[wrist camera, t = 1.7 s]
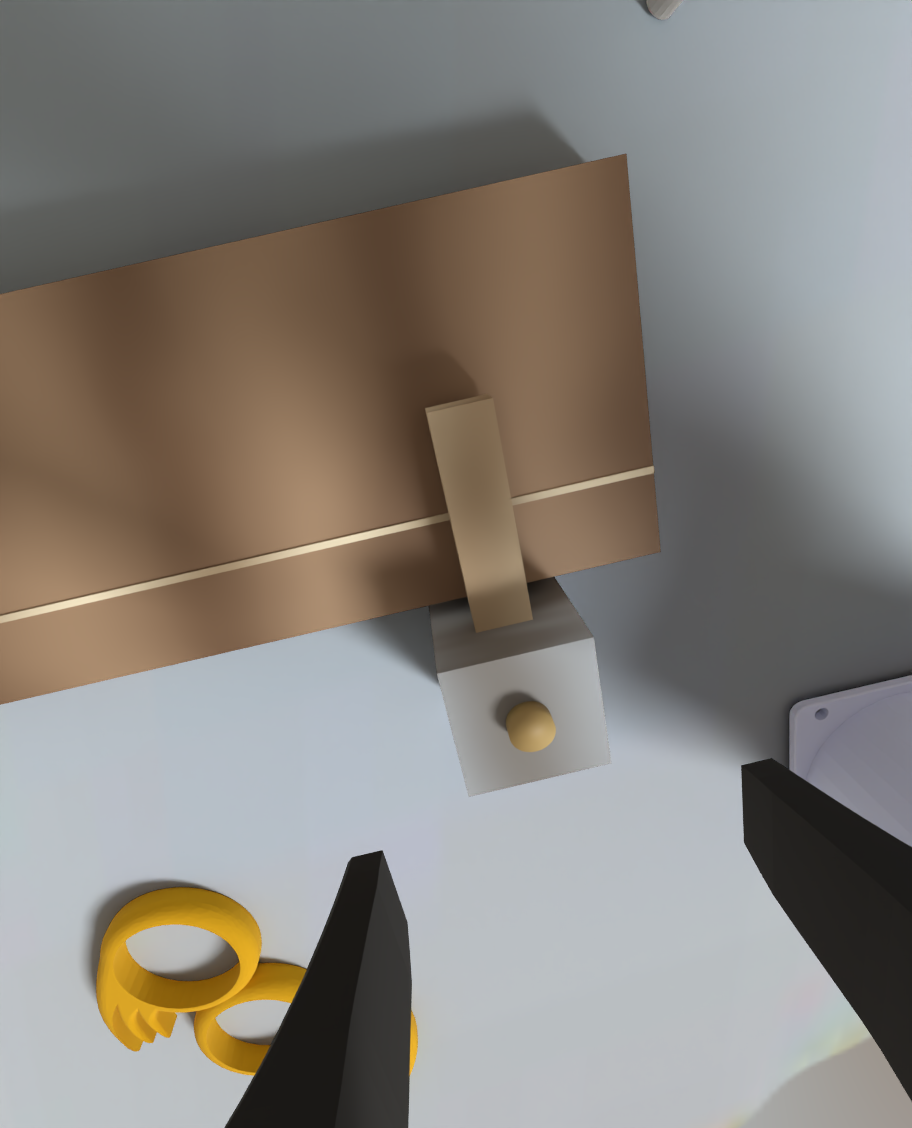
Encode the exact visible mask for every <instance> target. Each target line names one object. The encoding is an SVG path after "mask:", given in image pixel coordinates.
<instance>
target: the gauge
mask: <svg viewBox="0 0 912 1128" xmlns="http://www.w3.org/2000/svg"><path fill="white" fill-rule="evenodd" d="M425 410H426V415H427V419H428V424H429V428H430V433H431V437H432V442H433V446H434V451H435V455H436V460H437V464H438V468H439V473H440V477H441V482H442V486H443V491H444V495H445V500H446V504H447V509H448V513H449V518H450V522H451V526H452V531H453V535H454V540H455V544H456V549H457V553H458V558H459V562H460V567H461V571H462V576H463V580H464V585H465V589H466V593H467V597H463V598H459V599H455V600H450V601H446V602H442V603H437V604H433V605H429V612H430V620H431V629H432V637H433V645H434V654H435V662H436V670H437V676H438V680H439V684H440V688H441V692H442V695H443V699H444V703H445V707H446V711H447V715H448V718H449V722H450V726H451V730H452V734H453V738H454V742H455V745H456V749H457V753H458V757H459V761H460V765H461V769H462V772H463V776H464V780H465V784H466V788H467V792H468V796H469V797H470V796H475V795H479V794H483V793H487V792H492V791H496V790H500V789H504V788H509V787H513V786H517V785H521V784H526V783H530V782H534V781H538V780H542V779H547V778H551V777H555V776H559V775H564V774H568V773H572V772H576V771H581V770H585V769H589V768H593V767H598V766H602V765H606V764H610V763H611V757H610V750H609V743H608V735H607V728H606V721H605V714H604V707H603V700H602V692H601V685H600V678H599V671H598V664H597V656H596V649H595V642H594V637H593V635H592V634H591V632H590V631H589V629H588V628H587V626H586V625H585V623H584V621H583V620H582V618H581V617H580V615H579V614H578V612H577V611H576V609H575V608H574V606H573V605H572V603H571V602H570V600H569V599H568V597H567V596H566V594H565V593H564V591H563V589H562V588H561V586H560V585H559V583H558V582H557V580H556V579H555V577H550V578H546V579H541V580H537V581H533V582H528V583H526V578H525V572H524V567H523V561H522V556H521V550H520V545H519V539H518V534H517V528H516V522H515V517H514V511H513V506H512V500H511V495H510V489H509V484H508V478H507V473H506V467H505V462H504V456H503V451H502V445H501V439H500V434H499V428H498V423H497V417H496V412H495V406H494V401H493V398H492V397H491V396H489V395H488V394H485V395H481V396H476V397H472V398H468V399H463V400H459V401H454V402H450V403H446V404H441V405H437V406H433V407H428V408H425Z"/></svg>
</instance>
